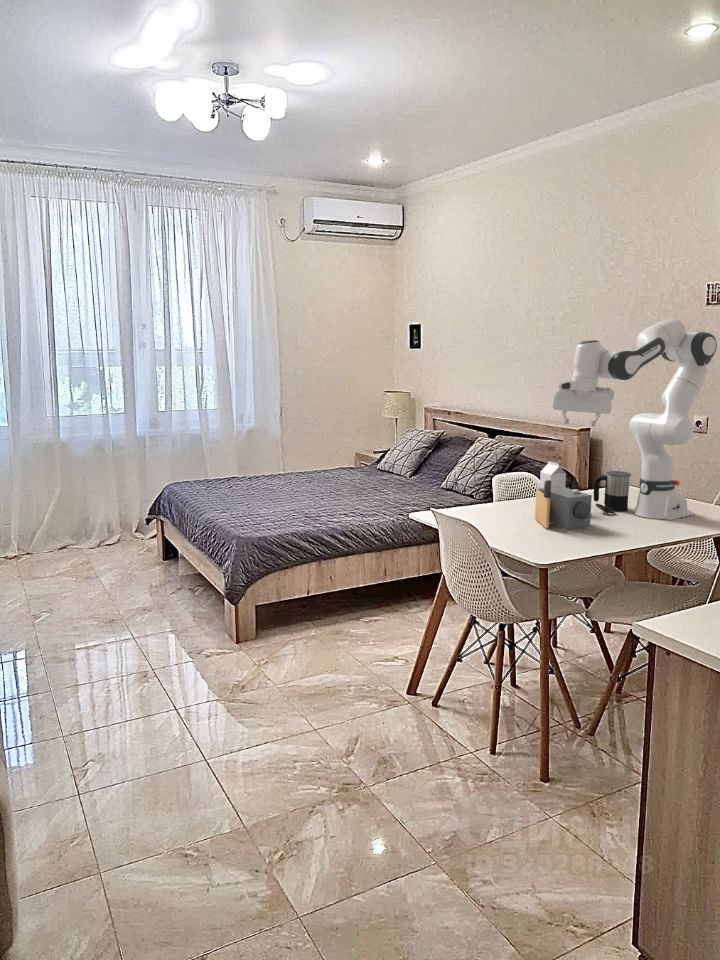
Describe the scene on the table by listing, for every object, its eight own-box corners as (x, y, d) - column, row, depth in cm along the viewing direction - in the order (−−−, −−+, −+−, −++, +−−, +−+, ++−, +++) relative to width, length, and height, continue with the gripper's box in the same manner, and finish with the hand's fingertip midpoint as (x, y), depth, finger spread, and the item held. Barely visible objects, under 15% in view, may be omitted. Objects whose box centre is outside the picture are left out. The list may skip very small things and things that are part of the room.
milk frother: (625, 506, 309) (627, 470, 306) (635, 516, 293) (637, 478, 290) (589, 506, 310) (591, 470, 307) (597, 515, 295) (599, 477, 292)
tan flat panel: (539, 518, 288) (541, 474, 285) (550, 527, 274) (552, 481, 271) (533, 518, 288) (534, 474, 285) (544, 528, 274) (546, 481, 271)
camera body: (558, 516, 293) (560, 482, 290) (593, 528, 275) (595, 493, 272) (537, 519, 289) (538, 485, 286) (571, 531, 271) (573, 495, 268)
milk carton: (549, 512, 300) (551, 464, 296) (538, 508, 307) (540, 461, 303) (564, 510, 303) (566, 463, 299) (553, 506, 309) (555, 460, 306)
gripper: (615, 388, 271) (610, 427, 272) (556, 384, 278) (552, 422, 280) (613, 387, 265) (609, 427, 266) (554, 383, 272) (550, 422, 274)
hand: (579, 424), depth 273 cm, fingers open, 8 cm apart
